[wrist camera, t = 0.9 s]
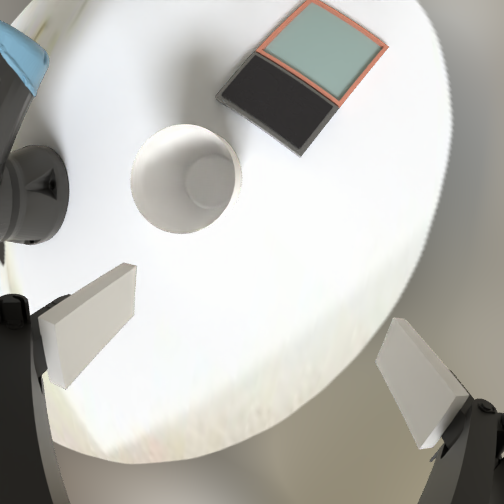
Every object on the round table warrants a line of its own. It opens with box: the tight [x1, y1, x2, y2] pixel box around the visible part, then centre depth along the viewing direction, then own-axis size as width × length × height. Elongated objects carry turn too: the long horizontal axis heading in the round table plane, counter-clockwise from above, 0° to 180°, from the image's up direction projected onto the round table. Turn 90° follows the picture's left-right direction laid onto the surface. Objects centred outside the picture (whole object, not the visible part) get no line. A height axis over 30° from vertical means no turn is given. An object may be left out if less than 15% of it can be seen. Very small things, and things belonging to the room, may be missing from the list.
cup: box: [131, 124, 242, 234], centre depth 28 cm, size 9×9×12 cm
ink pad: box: [215, 51, 339, 157], centre depth 30 cm, size 12×8×2 cm, turn 53°
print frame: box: [256, 0, 389, 108], centre depth 28 cm, size 12×12×1 cm
